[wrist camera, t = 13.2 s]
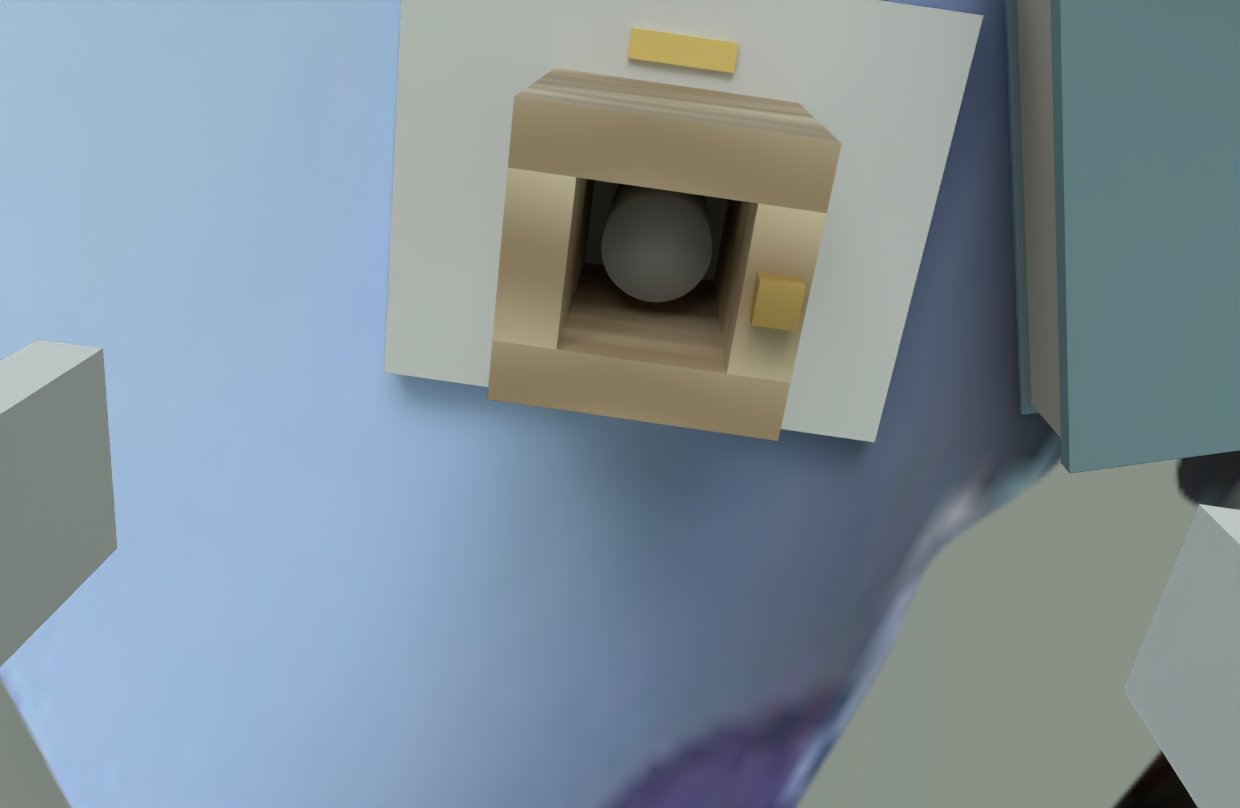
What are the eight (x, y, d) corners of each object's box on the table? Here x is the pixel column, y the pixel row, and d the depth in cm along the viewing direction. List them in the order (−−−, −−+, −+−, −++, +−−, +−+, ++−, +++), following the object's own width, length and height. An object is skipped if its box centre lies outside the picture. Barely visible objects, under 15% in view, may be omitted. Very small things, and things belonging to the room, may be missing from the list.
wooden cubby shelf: (555, 67, 29) (508, 100, 21) (798, 103, 29) (847, 149, 21) (530, 302, 31) (481, 412, 23) (753, 333, 31) (781, 455, 23)
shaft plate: (393, 359, 34) (336, 436, 28) (414, -67, 29) (349, -80, 23) (868, 427, 34) (907, 517, 28) (971, 13, 29) (1045, 21, 23)
